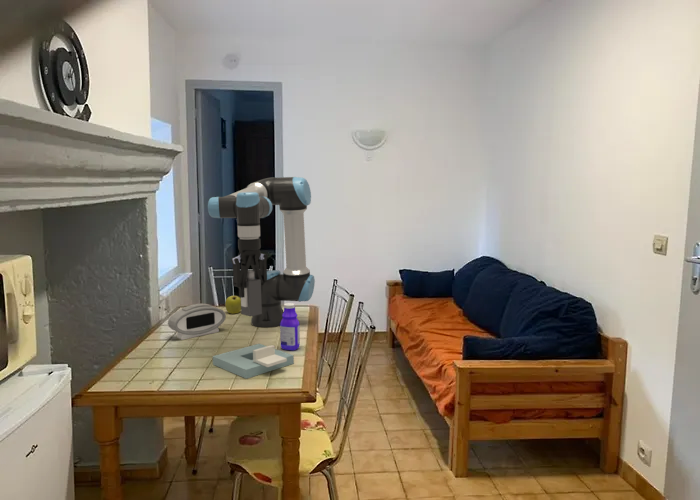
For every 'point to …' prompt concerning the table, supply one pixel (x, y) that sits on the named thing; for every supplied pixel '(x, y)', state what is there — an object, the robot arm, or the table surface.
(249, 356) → the socket plate
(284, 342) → the bottle
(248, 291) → the plug
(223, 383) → the table surface
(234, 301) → the apple
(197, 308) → the alarm clock
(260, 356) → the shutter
